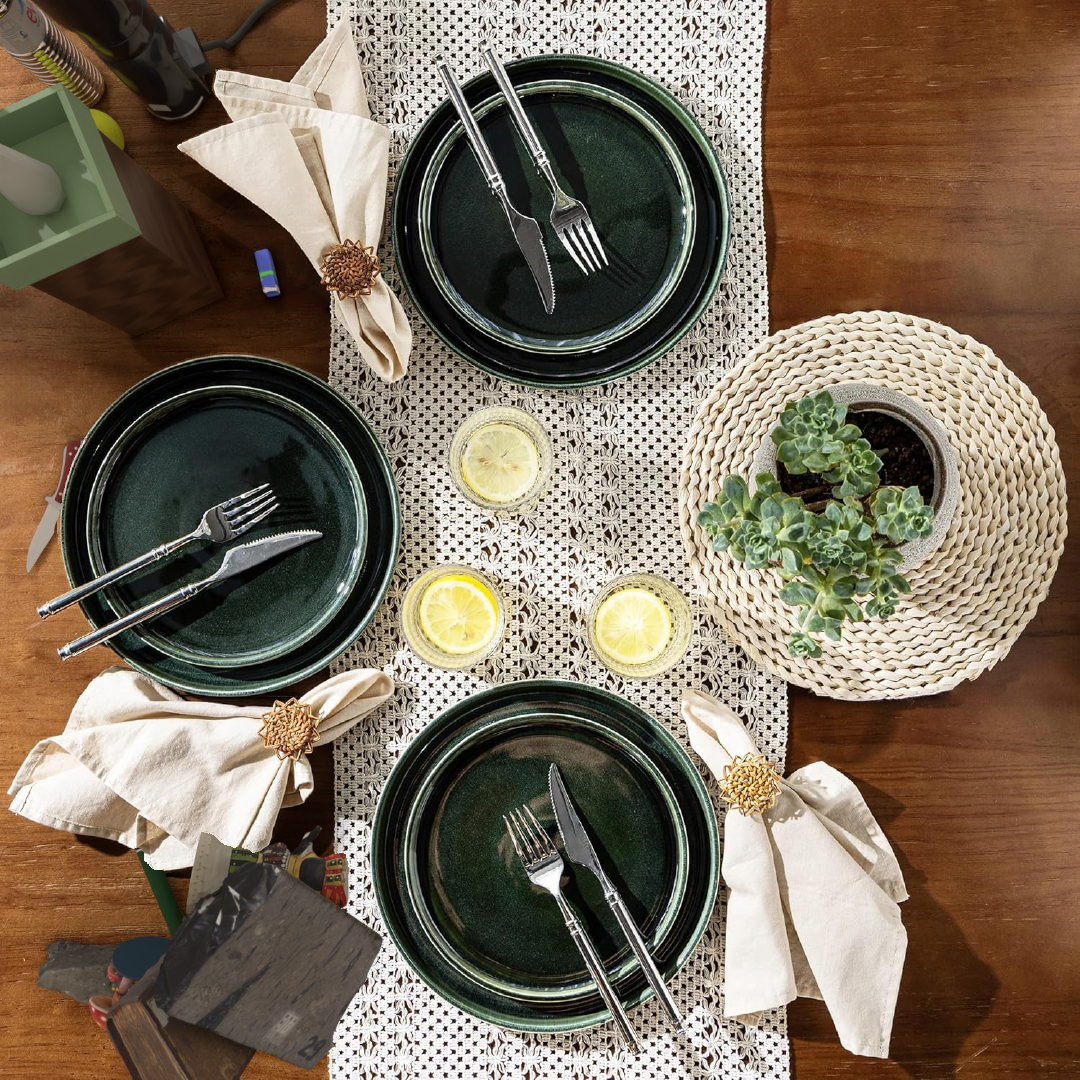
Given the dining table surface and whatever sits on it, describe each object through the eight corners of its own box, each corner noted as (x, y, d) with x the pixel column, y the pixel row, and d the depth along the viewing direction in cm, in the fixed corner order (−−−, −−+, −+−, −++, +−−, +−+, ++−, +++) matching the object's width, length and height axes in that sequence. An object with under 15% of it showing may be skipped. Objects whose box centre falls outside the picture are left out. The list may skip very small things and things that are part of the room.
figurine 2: (177, 960, 100) (340, 962, 106) (196, 840, 100) (359, 848, 105) (191, 911, 112) (337, 914, 117) (208, 803, 112) (354, 812, 117)
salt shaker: (82, 184, 90) (-1, 123, 77) (60, 231, 90) (-26, 178, 77) (35, 163, 90) (-55, 98, 77) (14, 209, 90) (-80, 153, 77)
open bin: (89, 108, 90) (60, 81, 85) (142, 234, 90) (116, 215, 85) (-36, 164, 91) (-72, 142, 86) (17, 290, 91) (-16, 275, 85)
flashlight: (165, 829, 116) (221, 960, 114) (131, 846, 115) (186, 978, 113) (152, 836, 111) (210, 974, 109) (116, 854, 110) (174, 993, 108)
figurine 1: (104, 934, 107) (88, 994, 108) (96, 980, 99) (78, 1044, 99) (198, 937, 112) (183, 994, 113) (199, 980, 104) (182, 1042, 104)
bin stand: (186, 207, 114) (85, 117, 90) (224, 296, 114) (133, 230, 90) (98, 247, 115) (-27, 168, 91) (135, 336, 115) (20, 281, 91)
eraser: (263, 293, 112) (277, 289, 112) (253, 251, 112) (267, 248, 112) (267, 297, 114) (281, 294, 114) (257, 256, 114) (271, 253, 114)
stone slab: (285, 874, 91) (414, 957, 111) (255, 828, 97) (381, 915, 117) (152, 1013, 86) (312, 1075, 105) (129, 955, 92) (284, 1024, 112)
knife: (67, 435, 113) (87, 443, 114) (72, 436, 115) (92, 444, 115) (13, 568, 114) (33, 576, 114) (18, 568, 115) (38, 576, 115)
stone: (35, 1012, 112) (-2, 1008, 104) (58, 942, 117) (25, 933, 108) (167, 1018, 112) (141, 1015, 104) (185, 948, 117) (162, 940, 109)
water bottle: (106, 111, 115) (-22, -10, 90) (60, 111, 115) (-82, -9, 90) (107, 63, 115) (-21, -71, 90) (60, 64, 115) (-80, -70, 90)
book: (199, 911, 113) (95, 1014, 88) (244, 890, 113) (153, 987, 88) (249, 1019, 113) (159, 1153, 88) (294, 998, 113) (216, 1127, 88)
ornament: (128, 179, 115) (86, 145, 105) (81, 169, 115) (34, 134, 105) (139, 131, 115) (98, 91, 105) (91, 121, 115) (46, 80, 105)
